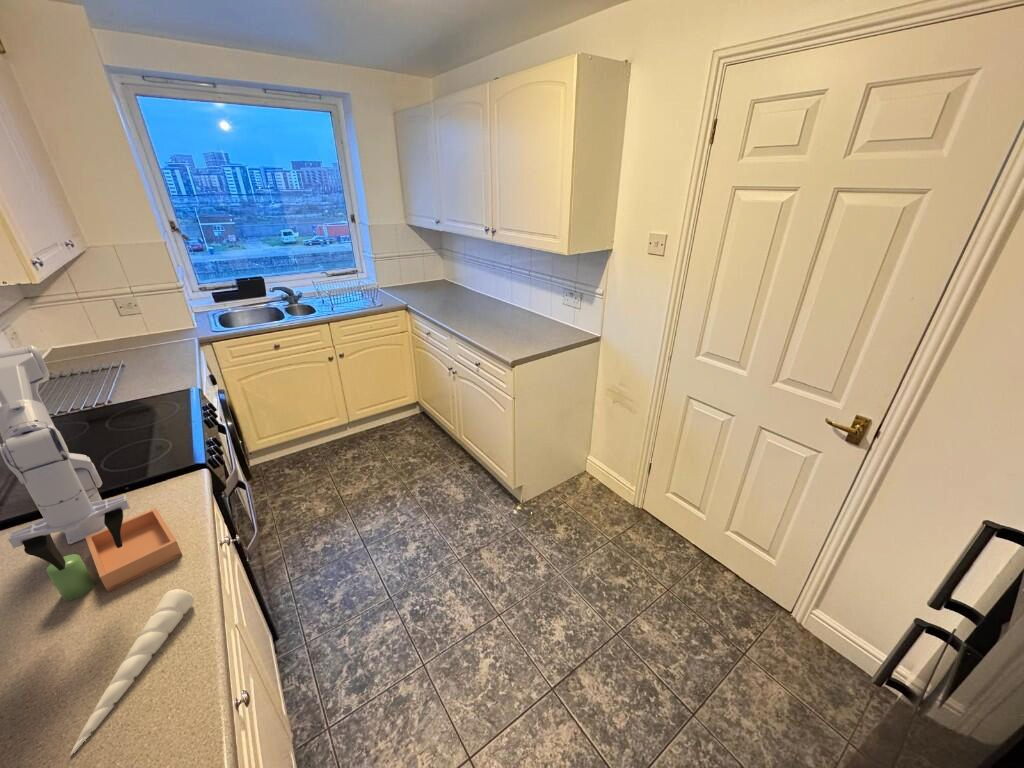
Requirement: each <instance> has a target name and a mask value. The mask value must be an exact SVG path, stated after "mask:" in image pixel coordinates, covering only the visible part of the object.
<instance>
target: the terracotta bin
mask: <svg viewBox="0 0 1024 768" xmlns="http://www.w3.org/2000/svg"><path fill="white" fill-rule="evenodd" d="M120 535H121V539H122V545H123V546H122V547H120V548H117V547H116V545H115V542H114V539H113V536H112V535H111V533H110V531H109V530H108V528H106V529H104V530H101V531H99V532H96V533H94V534H92V535H89V536H87V537H85V540H86V543H87V546H88V549H89V551H90V554H91V557H92V560H93V562H94V565H95V567H96V571H97V573H98V575H99V578H100V580H101V582H102V584H103V586H104V588H105V589H106V591H107V592H108V593H110V592H112V591H114V590H116V589H118V588H120V587H122V586H124V585H126V584H127V583H130V582H132V581H134V580H136V579H138V578H140V577H142V576H143V575H145V574H148V573H149V572H151V571H154V570H155V569H157V568H160V567H162V566H164V565H166V564H168V563H169V562H173V561H174V560H176V559H177V558H179V557H182V556H183V553H182V551H181V549H180V546H179V543H178V541H177V540H176V537H175V536H174V535H173V534H172V531H171V530H170V528H169V527H168V525H167V524H166V521H165V520H164V518H163V517H162V515H161V514H160V513H159V511H158V509H157V508H156V507H155V508H151V509H150V510H147V511H144V512H143V513H142V512H141V513H139V514H137V515H135V516H133V517H130V518H128V519H125V520H123V521H122V525H121V532H120Z"/></svg>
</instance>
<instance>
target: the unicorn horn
mask: <svg viewBox="0 0 1024 768" xmlns="http://www.w3.org/2000/svg"><path fill="white" fill-rule="evenodd" d="M194 601H195V599H194V596H193V595H192V594H191V593H190V592H189V591H188V590H185V589H180V588H179V589H178V588H177V589H171V590H169V591H167V592H165V593H164V595H163V596H162V598H161V599H160V601H159V603H158V604H157V606H156V608H155V609H154V610H153V613H152V614H151V616H150V618H149V619H148V621H147V622H146V623H145V625H144V627H143V628H142V630H141V632H140V634H139V635H138V637H137V638H136V640H135V642H134V643H133V645H132V646H131V648H130V650H129V651H128V653H127V654H126V656H125V658H124V659H123V662H121V664H120V665H119V667H118V669H117V671H116V672H115V674H114V675H113V678H112V680H111V681H109V682H110V683H108V687H106V688H105V690H104V692H103V694H102V696H101V698H100V699H99V701H98V703H97V704H96V706H95V708H94V710H93V711H92V714H91V715H90V717H89V718H88V719H87V721H86V723H85V725H84V727H83V729H82V730H81V732H80V734H79V736H78V738H77V739H76V741H75V744H74V746H73V748H72V750H71V752H70V754H73V753H75V752H76V750H77V749H78V748H79V747H80V745H82V743H83V742H84V741H85V742H87V740H88V739H89V738H90V737H91V736H92V734H91V731H92V732H94V731H95V730H96V729H97V728H98V727H99V726H100V724H101V723H102V722H103V721H104V719H105V718H106V717H107V716H108V714H109V713H110V712H111V711H112V710H113V709H114V706H115V703H117V702H118V701H120V699H121V698H122V696H123V695H124V694H125V693H126V691H127V690H128V689H129V688H130V687H131V685H132V684H133V683H134V681H135V678H136V677H138V676H139V675H140V674H141V673H142V671H143V670H144V668H145V667H146V665H148V663H149V662H150V661H151V660H152V658H153V655H154V654H156V653H157V651H159V649H160V648H161V646H162V645H163V644H164V642H165V641H166V640H167V639H168V637H169V634H171V633H172V632H173V631H174V630H175V628H176V626H177V625H178V624H179V623H180V622H181V620H183V618H184V615H186V614H187V613H188V611H189V610H190V608H191V607H192V606H193V605H194V603H195V602H194ZM89 736H90V737H89ZM88 737H89V738H88ZM87 738H88V739H87ZM86 739H87V740H86ZM82 746H83V745H82ZM80 748H81V747H80ZM80 748H79V749H80ZM79 749H78V750H79ZM75 754H76V753H75Z"/></svg>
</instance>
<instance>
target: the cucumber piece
mask: <svg viewBox="0 0 1024 768" xmlns="http://www.w3.org/2000/svg"><path fill="white" fill-rule="evenodd" d="M63 558H64V560H65V569H63V570H60V571H59V570H58V569H57V568H56V567H55V566H53V565H52V564H51V563H49V565H48V566H47V568H46V573H47V574H48V576H49V578H50V580H51V581H52V583H53V585H54V587H55V588H56V590H57V591H58V593H59V594H60V596H61V598H62V600H64V601H73V600H76V599H79V598H81V597H84V596H85V595H86V594H88V593H89V592H91V590H92V589H93V588H94V587H95V584H96V583H95V581H94V580H93V577H92V576H91V574H90V572H89V570H88V568H87V566H86V564H85V563H84V561H83V559H82V558H81V556H80V555H79V554H78V553H77V554H76V553H75V554H74V553H73V554H68V555H64V556H63Z"/></svg>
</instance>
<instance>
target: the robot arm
mask: <svg viewBox="0 0 1024 768" xmlns="http://www.w3.org/2000/svg"><path fill="white" fill-rule="evenodd" d="M50 376H51V375H50V372H49V369H48V367H47V365H46V363H45V361H44V358H43V356H42V354H41V352H40V351H39V348H38V347H37V346H34V345H32V344H30V345H27V346H22V347H17V348H11V349H10V348H9V349H4V350H0V404H1V406H0V436H1V439H2V441H3V443H0V454H1V456H2V459H3V460H4V463H5V465H6V466H7V467H8V469H9V470H11V472H12V473H13V474H14V475H15V476H16V478H17V479H18V481H19V482H20V484H22V485H24V486H25V488H26V489H27V492H28V494H29V495H30V496H31V498H32V501H33V503H34V504H35V505H36V508H37V509H38V511H39V512H40V514H41V515H42V516H41V517H43V519H41V520H38V521H36V522H34V523H32V524H29V525H28V526H25V527H22V528H20V529H18V530H15V531H12V532H9V534H8V539H7V540H8V542H9V543H10V546H11V547H12V548H13V549H16V548H18V547H21V546H23V547H24V553H25V554H26V555H30V556H33V557H37V558H39V559H42V560H44V561H46V562H47V563H49V564H52V565H53V566H55V567H56V568H57V569H58V570H59V571H60V570H63V569H65V560H64V558H63V557H64V556H63V555H62V554H61V552H60V551H59V549H58V548H57V546H56V544H55V542H54V539H53V537H52V534H54V533H59V532H62V533H63V534H65V538H66V541H67V544H68V545H72V544H75V543H77V542H79V541H82V540H84V539H85V540H86V538H85V537H87V536H89V535H92V534H94V533H96V532H99V531H101V530H104V529H106V528H108V530H109V531H110V533H111V535H112V536H113V539H114V542H115V545H116V547H117V548H120V547H122V546H123V545H122V539H121V535H120V532H121V525H122V522H123V521H124V519H123V518H124V511H126V510H128V509H130V502H129V500H128V498H127V495H126V494H125V495H121V496H118V497H113V498H109V499H108V498H107V499H104V500H103V499H102V496H101V495H100V493H99V490H98V488H101V487H102V485H103V481H102V479H101V476H100V475H99V473H98V470H97V469H96V466H95V464H94V463H93V462H92V460H91V458H90V457H89V456H87V455H85V454H81V453H73V452H69V449H68V446H67V444H66V442H65V440H64V438H63V436H62V433H61V432H60V431H59V430H58V429H57V428H56V426H55V423H54V422H53V420H52V418H51V416H50V414H49V412H48V410H47V407H46V405H45V404H44V402H43V399H42V398H41V396H40V394H39V387H40V386H39V385H40V384H42V383H45V382H47V381H49V380H50Z"/></svg>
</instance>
